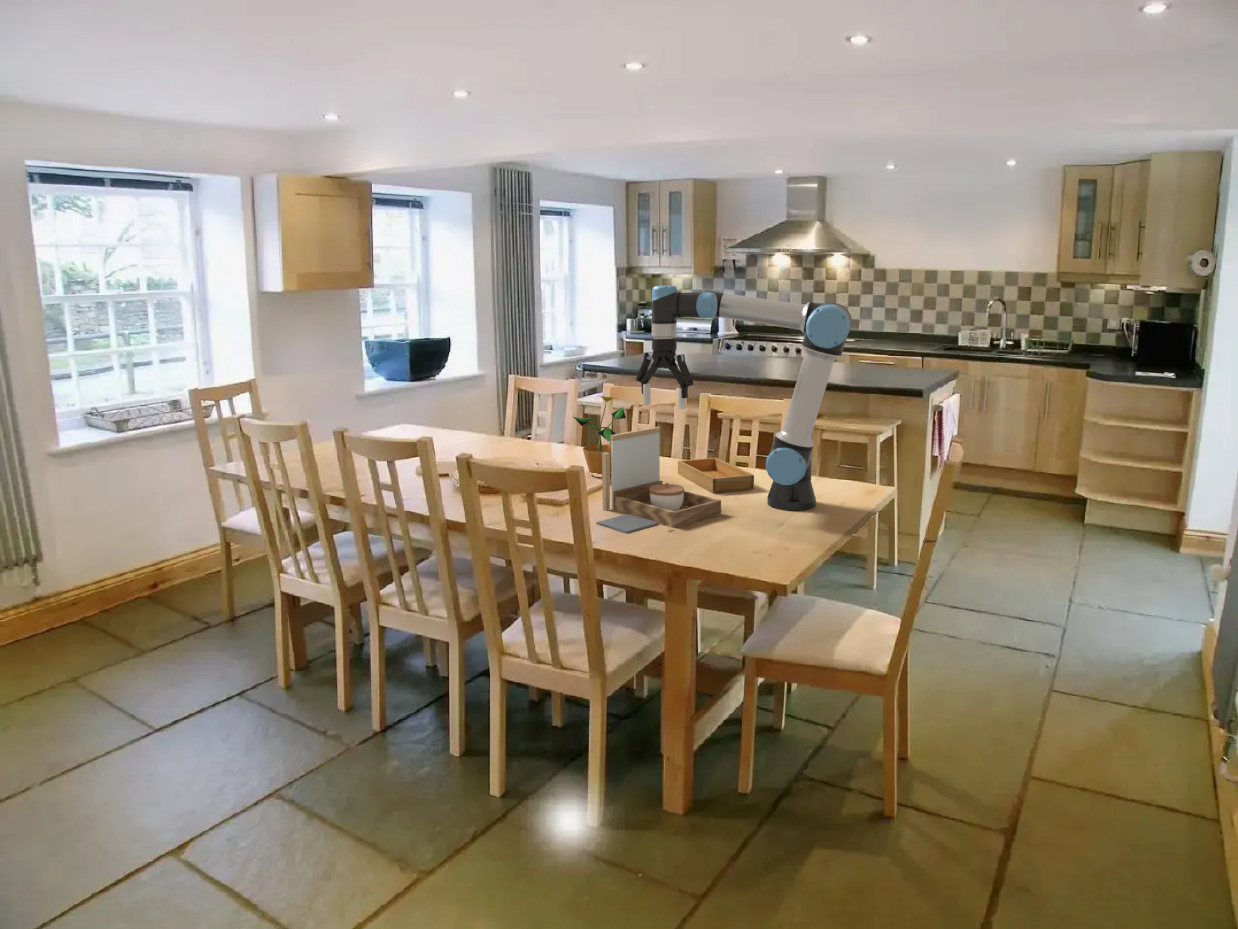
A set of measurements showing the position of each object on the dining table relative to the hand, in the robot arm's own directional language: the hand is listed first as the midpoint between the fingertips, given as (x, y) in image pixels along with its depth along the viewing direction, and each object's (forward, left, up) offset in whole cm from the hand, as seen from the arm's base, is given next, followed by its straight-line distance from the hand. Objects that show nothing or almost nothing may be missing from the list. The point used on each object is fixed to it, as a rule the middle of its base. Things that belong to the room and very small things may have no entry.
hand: (664, 406), depth 286 cm
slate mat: (-6, +22, -32) cm, 39 cm away
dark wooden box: (-5, +4, -32) cm, 33 cm away
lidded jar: (-5, +4, -32) cm, 33 cm away
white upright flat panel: (+9, +5, -32) cm, 34 cm away
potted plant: (+46, -14, -32) cm, 57 cm away
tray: (+11, -36, -33) cm, 49 cm away
